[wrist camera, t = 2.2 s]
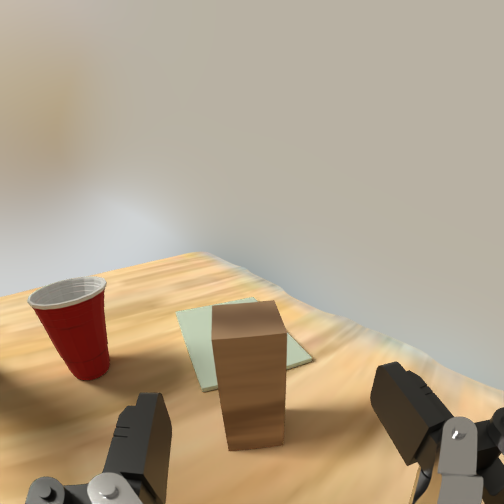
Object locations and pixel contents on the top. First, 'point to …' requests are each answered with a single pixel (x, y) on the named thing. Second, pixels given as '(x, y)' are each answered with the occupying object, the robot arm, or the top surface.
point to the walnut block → (250, 372)
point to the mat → (200, 345)
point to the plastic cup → (76, 323)
